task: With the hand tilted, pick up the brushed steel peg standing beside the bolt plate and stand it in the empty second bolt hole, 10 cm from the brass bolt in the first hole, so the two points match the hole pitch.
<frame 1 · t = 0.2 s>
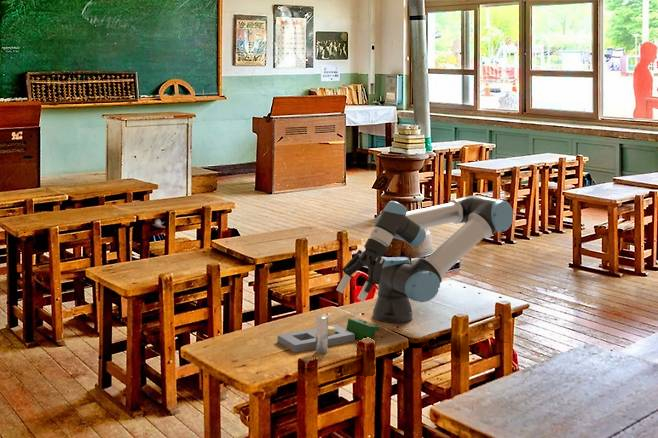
hand: (349, 295, 284), 16 cm above the table, tool tilted 35°, fingers open, 13 cm apart
peg: (321, 352, 274), on the table
bolt plate: (316, 341, 284), on the table
green angular block: (363, 337, 290), on the table
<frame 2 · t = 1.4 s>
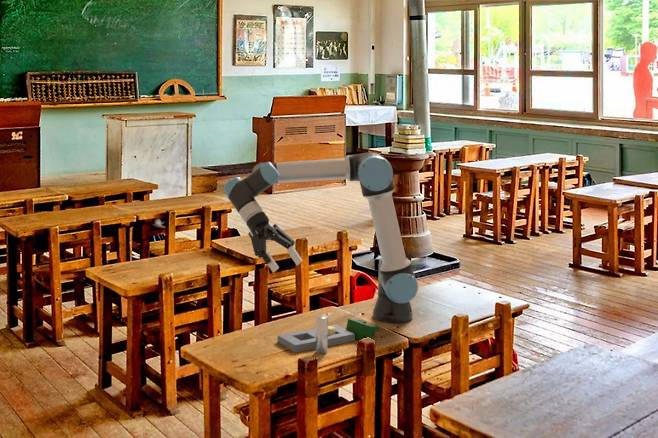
hand: (288, 266, 279), 26 cm above the table, tool tilted 45°, fingers open, 13 cm apart
nothing on the table moved.
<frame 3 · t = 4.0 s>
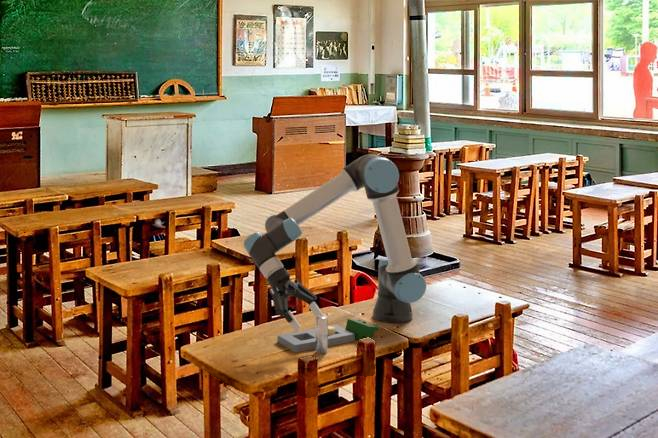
hand: (310, 324, 273), 9 cm above the table, tool tilted 45°, fingers open, 13 cm apart
nothing on the table moved.
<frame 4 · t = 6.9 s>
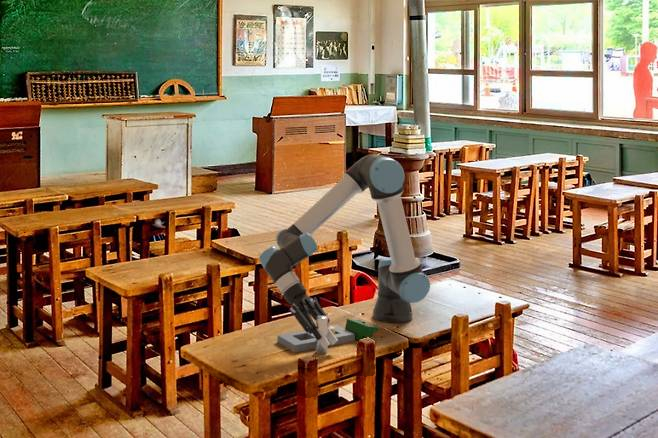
hand: (331, 344, 271), 3 cm above the table, tool tilted 45°, fingers closed on peg, 4 cm apart
peg: (321, 352, 274), on the table, touching gripper
everything else where it was.
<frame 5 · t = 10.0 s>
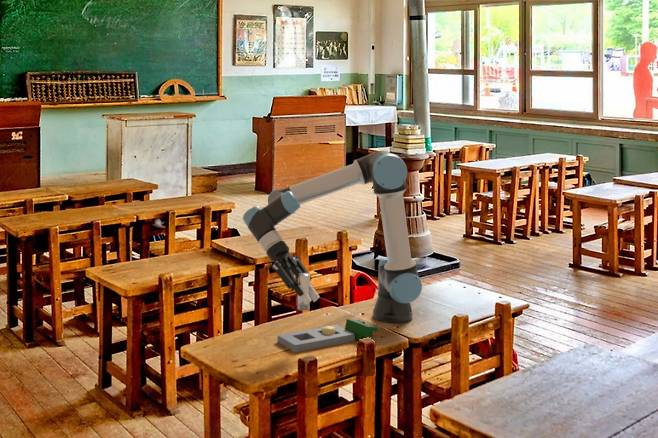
hand: (312, 301, 276), 16 cm above the table, tool tilted 45°, fingers closed on peg, 4 cm apart
peg: (303, 308, 279), point 12 cm above the table, touching gripper
everything else where it was.
when the fingers open (5 cm above the table, at t = 13.3 s): peg drops 1 cm, resting in bolt plate.
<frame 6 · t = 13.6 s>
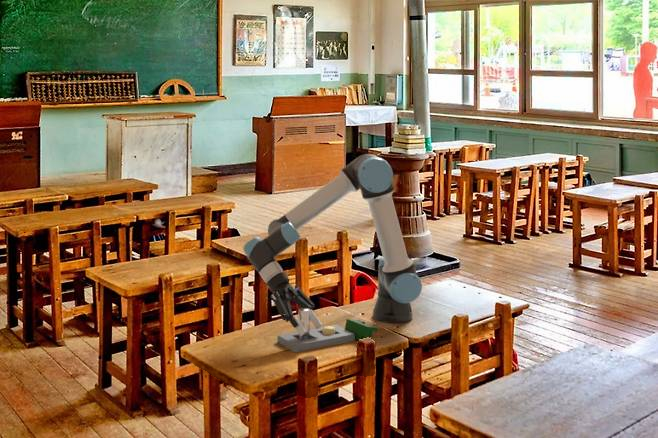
hand: (311, 330, 279), 5 cm above the table, tool tilted 45°, fingers open, 9 cm apart
peg: (303, 343, 281), resting in bolt plate
everything else where it was.
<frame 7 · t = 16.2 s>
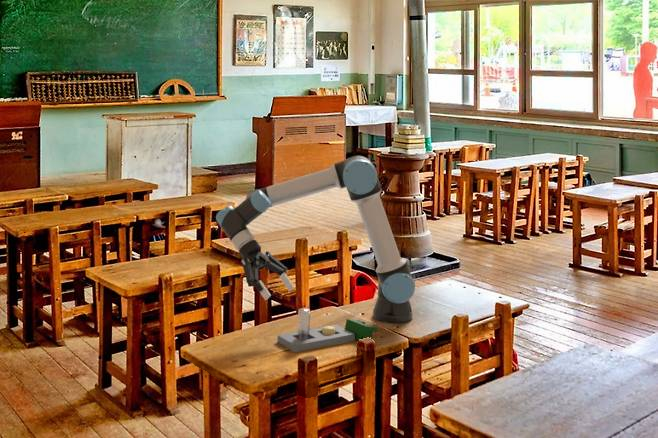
hand: (280, 293, 284), 16 cm above the table, tool tilted 45°, fingers open, 13 cm apart
nothing on the table moved.
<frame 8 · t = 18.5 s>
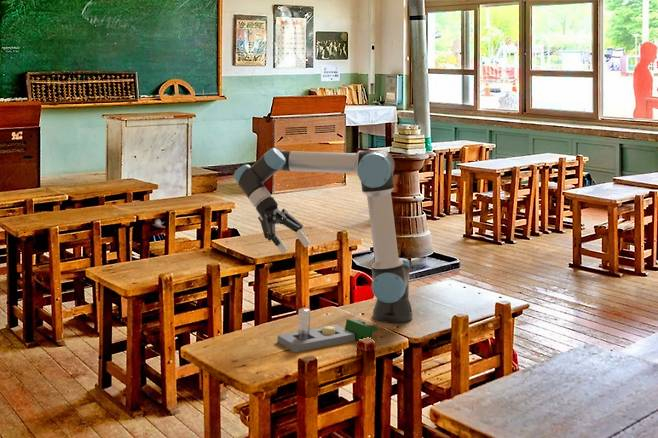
hand: (296, 248, 292), 30 cm above the table, tool tilted 45°, fingers open, 13 cm apart
nothing on the table moved.
at the end: peg 0.1 cm from the target spot on the bolt plate, point 0.0 cm above the bolt plate's base; peg tilted 0°; the gripper is holding nothing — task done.
